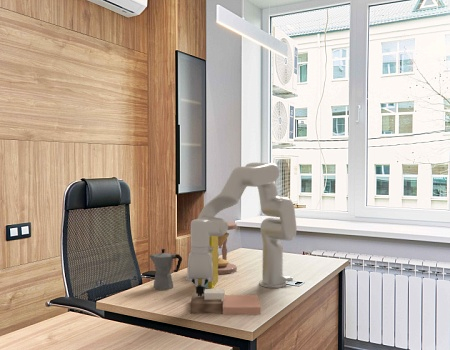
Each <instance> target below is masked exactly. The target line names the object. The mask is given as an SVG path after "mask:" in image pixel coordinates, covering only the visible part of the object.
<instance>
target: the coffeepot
mask: <svg viewBox="0 0 450 350" xmlns="http://www.w3.org/2000/svg"><path fill="white" fill-rule="evenodd" d="M165 251H166V249H165V248H162V249H161V252H160V253H155V254H150V255H148V258H150V259H151V261H152V262H153V264H154V270H155V276H154V281H153V289H154V290H157V291H168V290H172V289H173V288H174V284H173V277H172V273H171V270H172V267H173V262H174V261H173V260H174V259H178V260H177V264H176V269H173V272H174V273H178V272H179V269H180V266H181V264H182V261H183V257H182V256H181V255H180V254H178V253H177V254H176V253H175V254H172V253H167V252H165Z"/></svg>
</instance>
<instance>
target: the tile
mask: <svg viewBox="0 0 450 350" xmlns="http://www.w3.org/2000/svg"><path fill="white" fill-rule="evenodd" d="M204 291H205V292H204V300H215V299H222V300H223V299H225V295H226V294H225V291H226V290H225V288H213V289H208V288H204Z"/></svg>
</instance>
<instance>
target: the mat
mask: <svg viewBox="0 0 450 350" xmlns="http://www.w3.org/2000/svg"><path fill="white" fill-rule="evenodd" d="M222 314H224V315H226V314H227V315H229V314H230V315H233V314H235V315H236V314H237V315H242V314H243V315H246V314H247V315H248V314H249V315H251V314H252V315H253V314H255V315H256V314H257V315H261V305H260V301H259V296H258V294H225V299H222Z"/></svg>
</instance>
